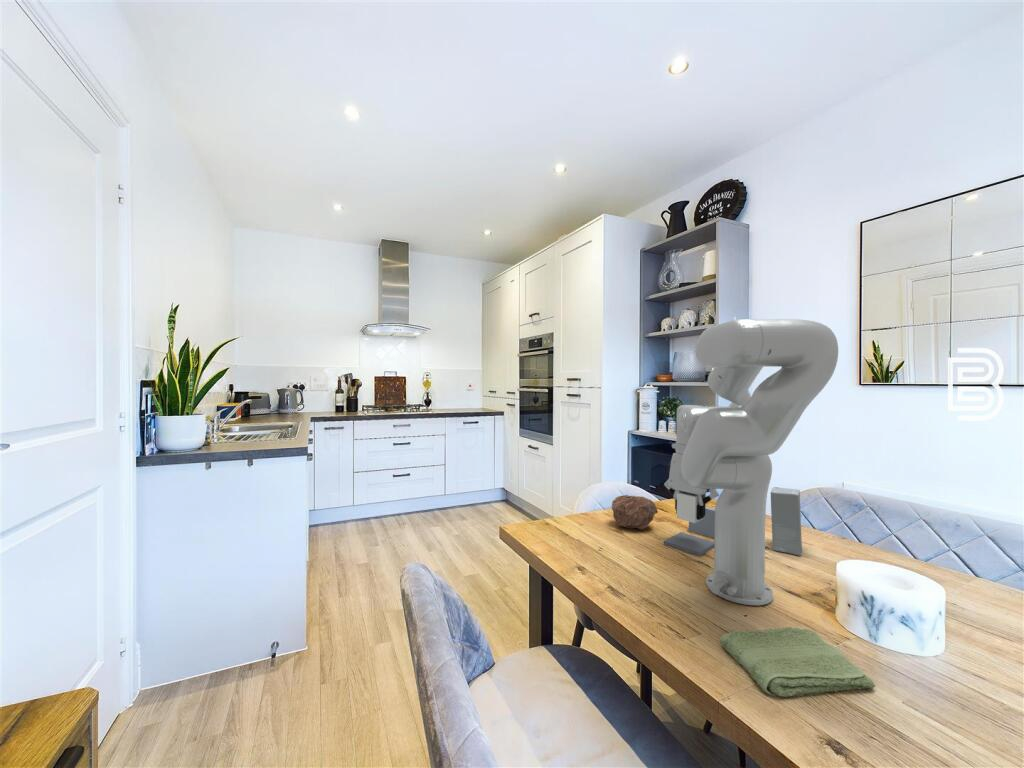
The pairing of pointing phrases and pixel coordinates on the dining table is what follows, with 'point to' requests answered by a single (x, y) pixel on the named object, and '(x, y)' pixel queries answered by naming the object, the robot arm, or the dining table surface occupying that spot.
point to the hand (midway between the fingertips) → (689, 515)
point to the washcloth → (793, 662)
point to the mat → (689, 543)
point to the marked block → (687, 507)
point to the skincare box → (786, 520)
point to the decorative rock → (633, 511)
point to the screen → (705, 524)
